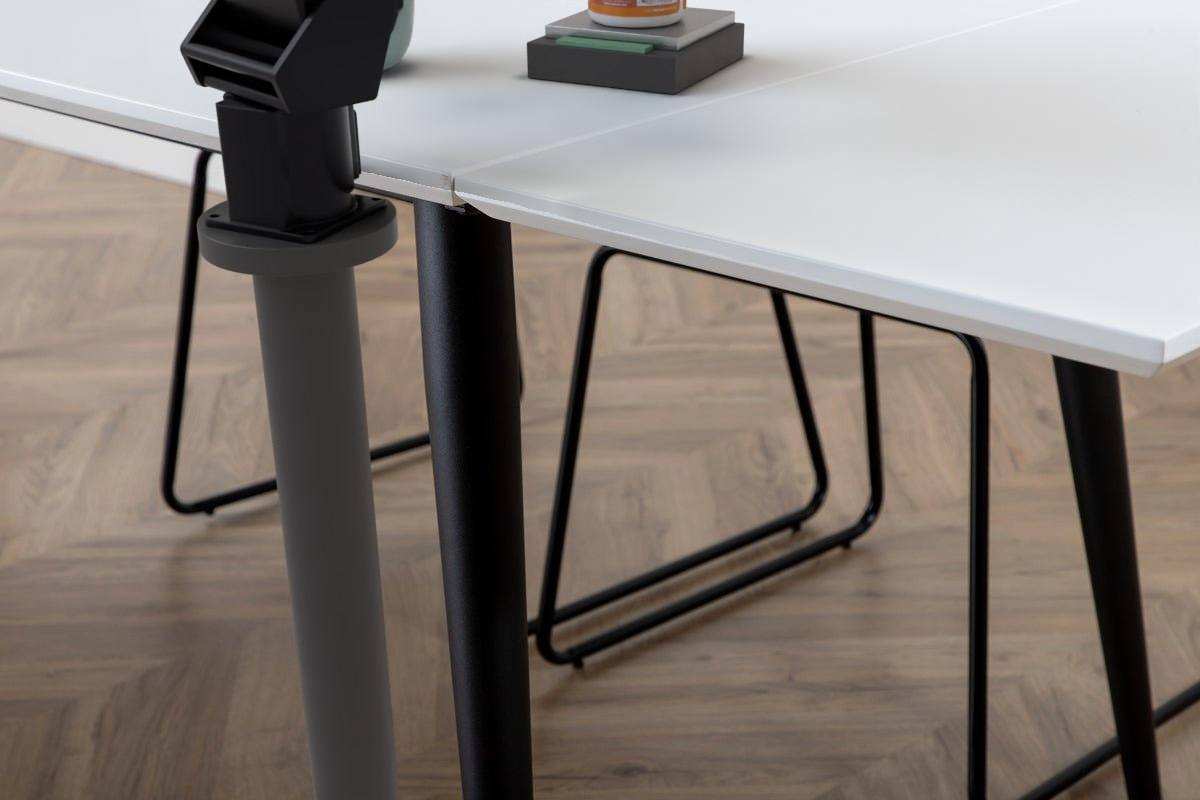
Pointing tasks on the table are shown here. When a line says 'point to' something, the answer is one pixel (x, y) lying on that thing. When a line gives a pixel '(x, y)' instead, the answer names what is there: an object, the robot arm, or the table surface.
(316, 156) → the robot arm
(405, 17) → the cup
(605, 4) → the pill bottle
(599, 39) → the kitchen scale
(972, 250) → the table surface
